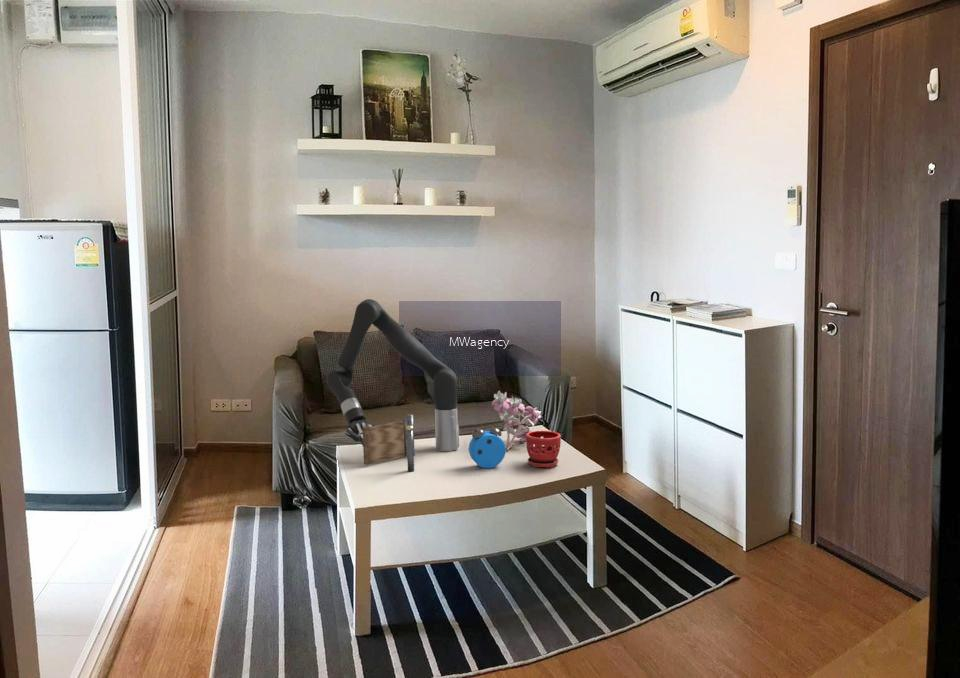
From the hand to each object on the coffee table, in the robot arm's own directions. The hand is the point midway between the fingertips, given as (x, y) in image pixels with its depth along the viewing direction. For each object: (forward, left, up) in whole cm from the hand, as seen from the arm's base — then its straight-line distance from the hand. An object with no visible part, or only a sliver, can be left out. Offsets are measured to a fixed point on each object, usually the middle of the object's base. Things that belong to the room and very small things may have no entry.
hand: (368, 448), depth 278 cm
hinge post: (-15, -8, -5) cm, 18 cm away
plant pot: (-68, -4, -6) cm, 69 cm away
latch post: (-19, +9, -5) cm, 22 cm away
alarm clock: (-47, +1, -6) cm, 48 cm away
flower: (-55, -31, -6) cm, 63 cm away
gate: (-7, 0, -5) cm, 9 cm away
